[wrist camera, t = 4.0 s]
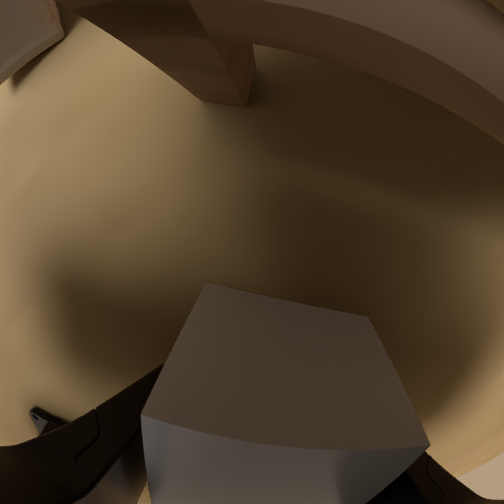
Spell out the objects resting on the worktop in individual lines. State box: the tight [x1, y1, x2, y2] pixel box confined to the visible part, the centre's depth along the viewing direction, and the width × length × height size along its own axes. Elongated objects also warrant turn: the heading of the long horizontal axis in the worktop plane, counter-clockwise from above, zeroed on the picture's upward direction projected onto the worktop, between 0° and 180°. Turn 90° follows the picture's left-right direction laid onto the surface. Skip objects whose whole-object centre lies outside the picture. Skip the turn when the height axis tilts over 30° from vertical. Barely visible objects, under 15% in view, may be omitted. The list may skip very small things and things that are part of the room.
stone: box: [141, 282, 430, 504], centre depth 7 cm, size 5×5×5 cm
